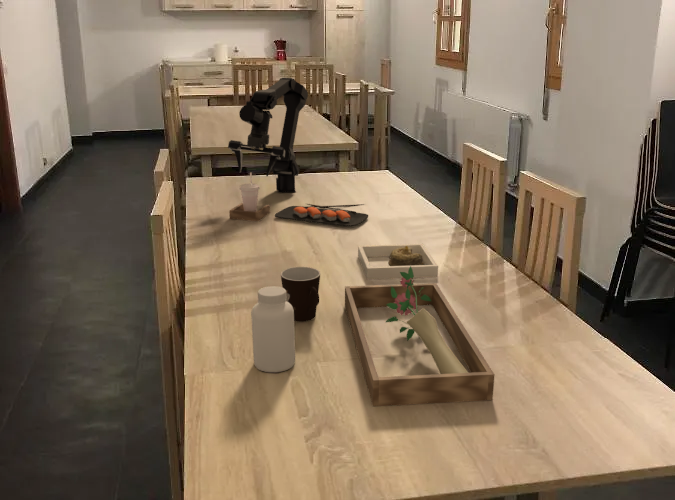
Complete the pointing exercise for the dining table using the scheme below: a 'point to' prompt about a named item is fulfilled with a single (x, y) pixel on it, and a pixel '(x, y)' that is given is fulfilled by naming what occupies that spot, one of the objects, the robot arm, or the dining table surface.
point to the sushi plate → (323, 215)
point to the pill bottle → (273, 331)
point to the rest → (248, 213)
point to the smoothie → (249, 195)
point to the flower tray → (419, 386)
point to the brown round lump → (405, 257)
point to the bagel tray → (394, 271)
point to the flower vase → (424, 327)
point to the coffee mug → (302, 291)
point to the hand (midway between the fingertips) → (253, 174)
